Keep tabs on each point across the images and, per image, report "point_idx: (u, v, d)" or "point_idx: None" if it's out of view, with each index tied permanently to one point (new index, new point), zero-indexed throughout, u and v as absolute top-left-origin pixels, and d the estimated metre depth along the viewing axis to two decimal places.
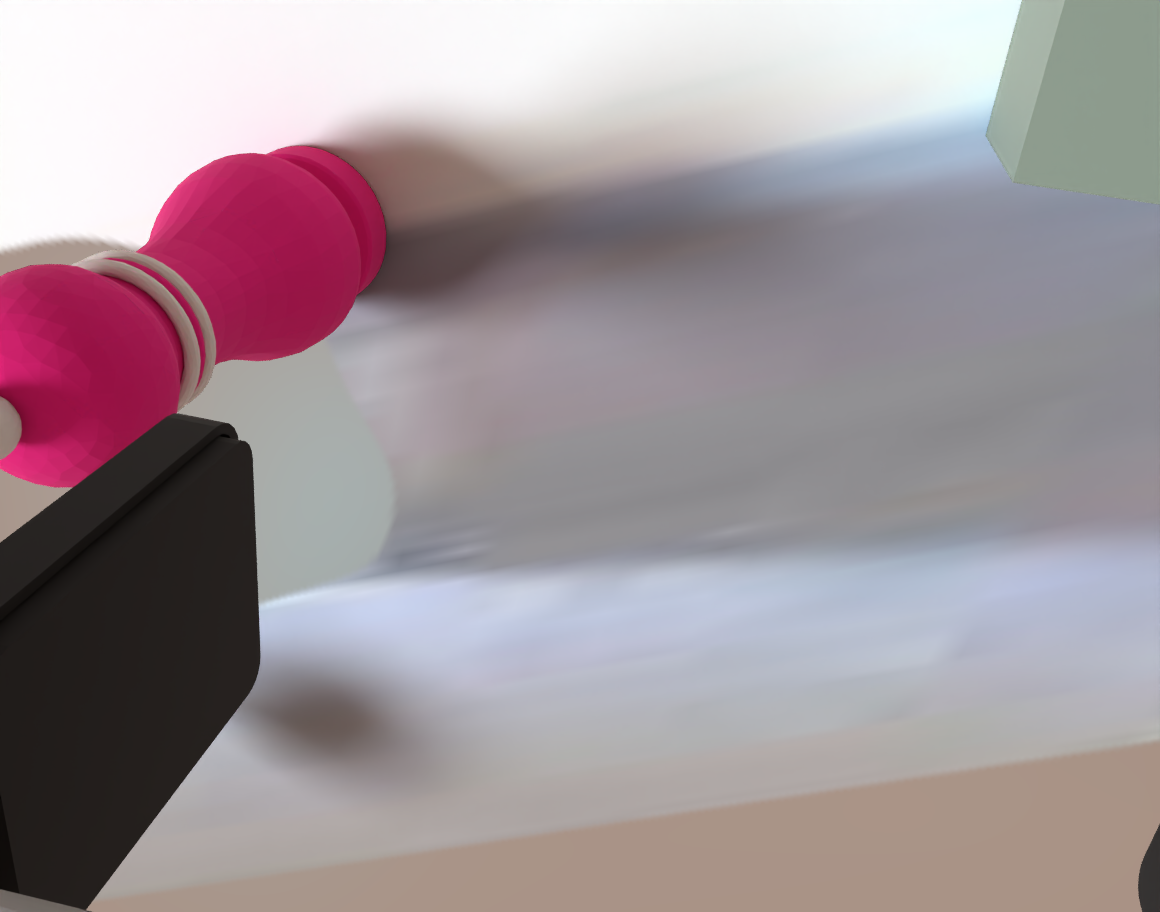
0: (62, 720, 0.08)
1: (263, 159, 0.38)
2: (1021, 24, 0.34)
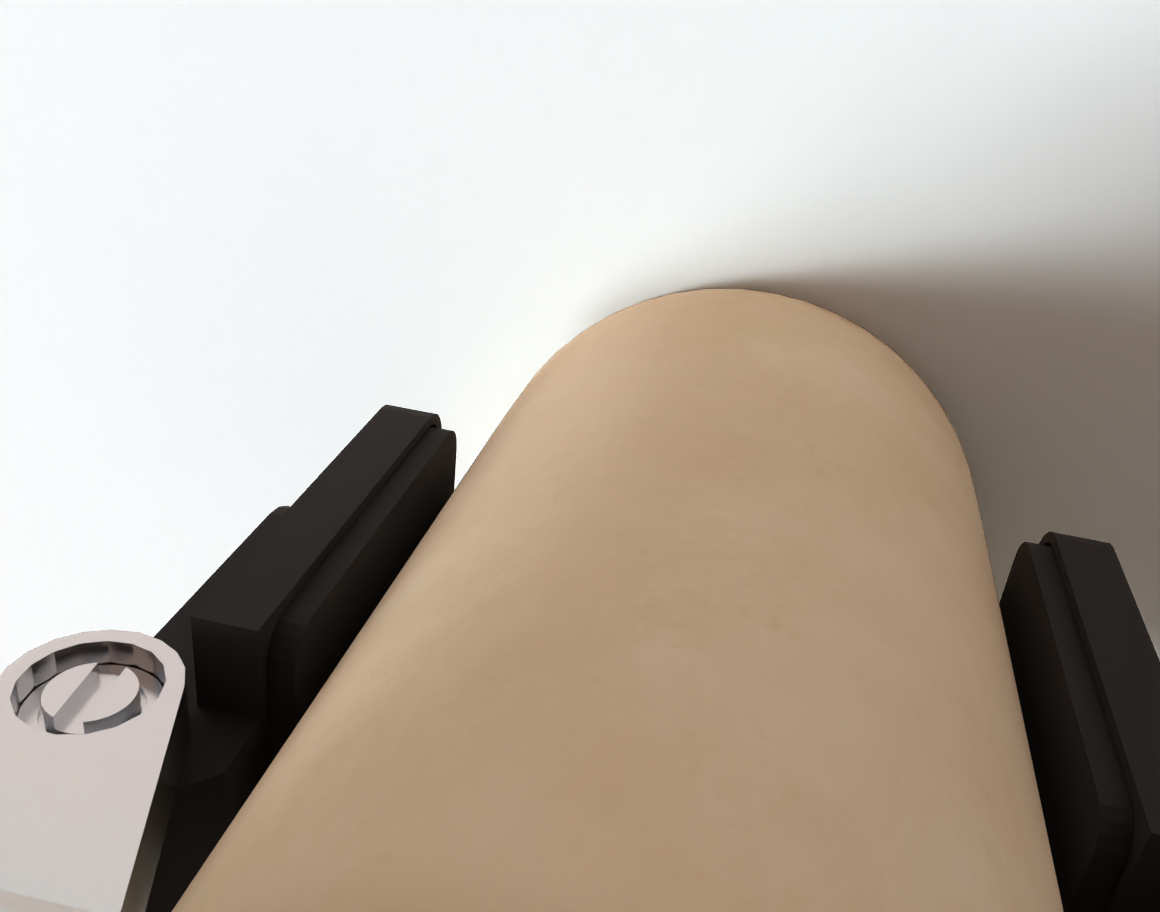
0: None
1: None
2: None
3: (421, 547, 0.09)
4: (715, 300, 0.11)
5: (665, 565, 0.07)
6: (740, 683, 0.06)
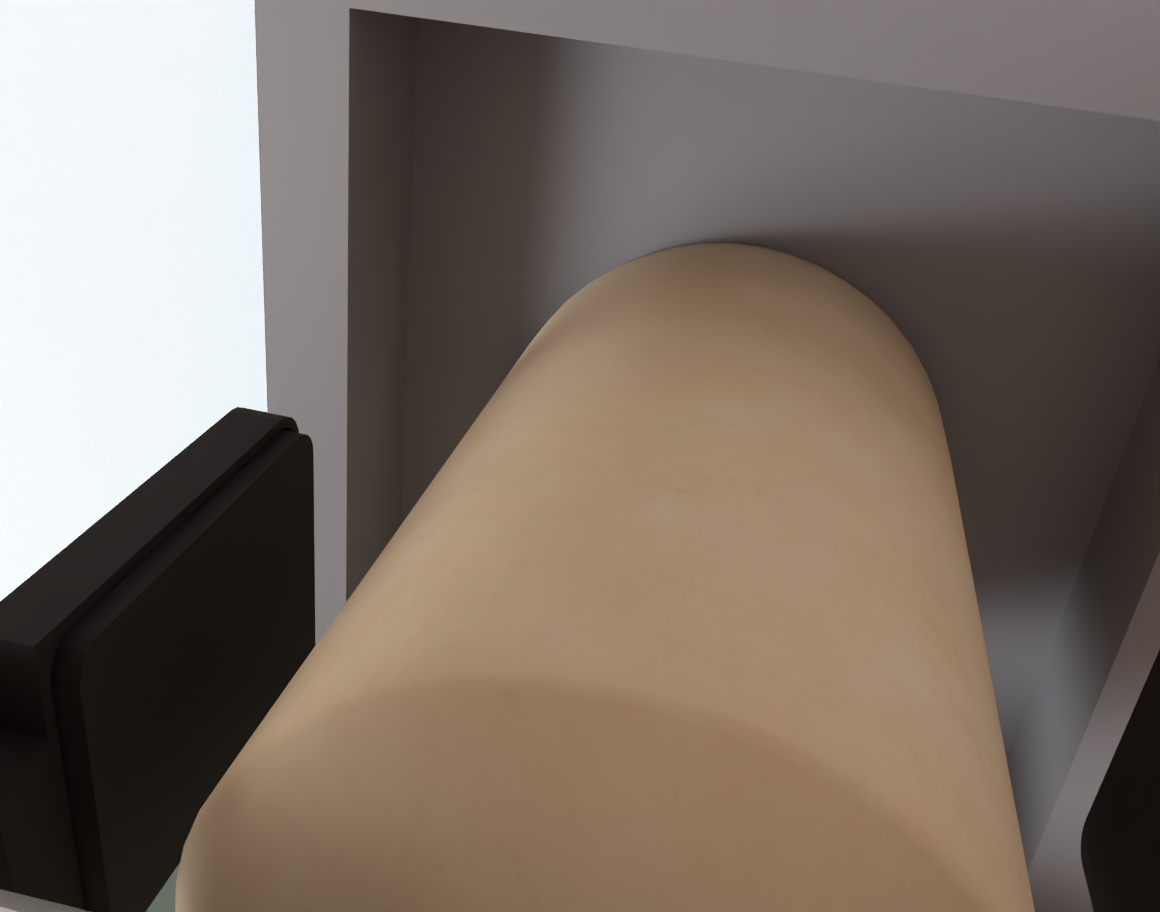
0: (145, 704, 0.08)
1: None
2: None
3: (452, 456, 0.10)
4: (709, 250, 0.13)
5: (669, 449, 0.08)
6: (729, 529, 0.07)
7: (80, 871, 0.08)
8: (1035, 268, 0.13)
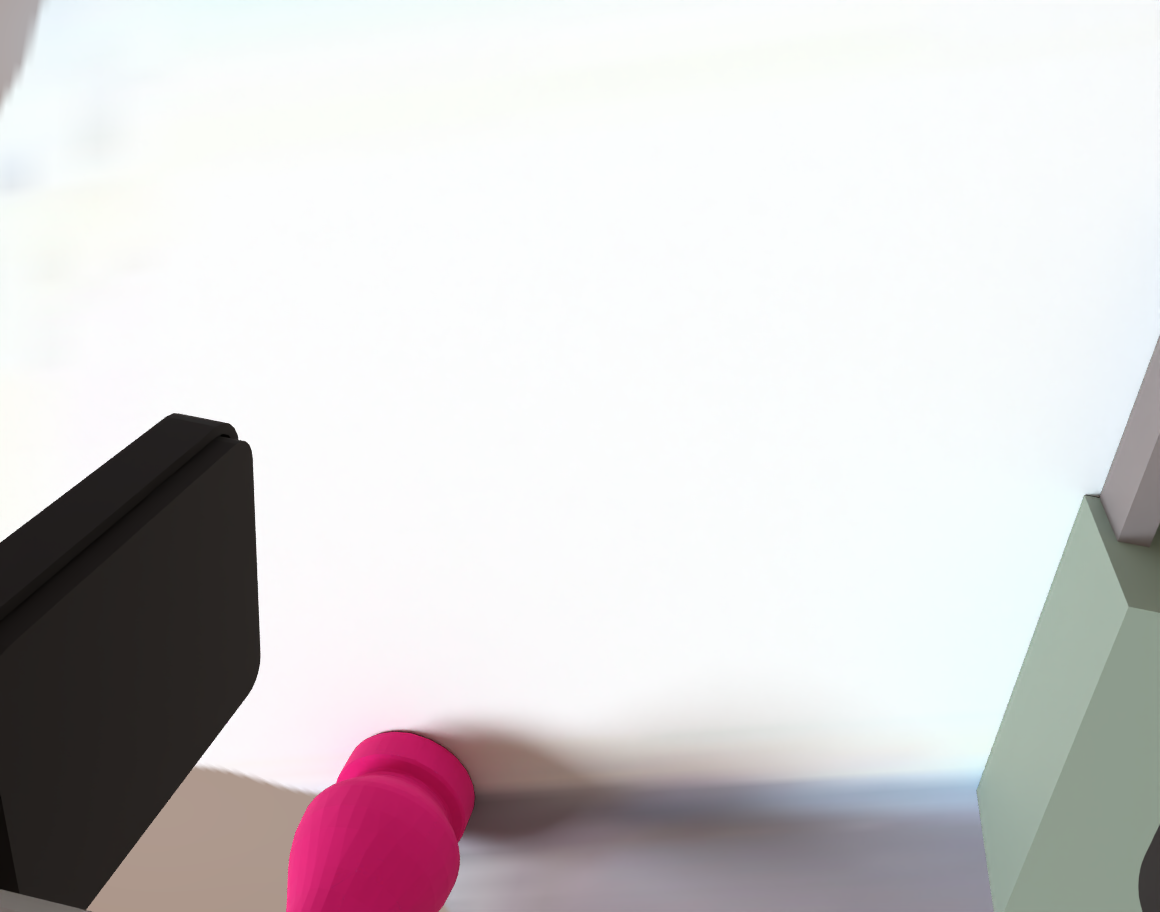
0: (63, 720, 0.08)
1: (383, 796, 0.46)
2: (1004, 742, 0.43)
3: None
4: None
5: None
6: None
7: None
8: None
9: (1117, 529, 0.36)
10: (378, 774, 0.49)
